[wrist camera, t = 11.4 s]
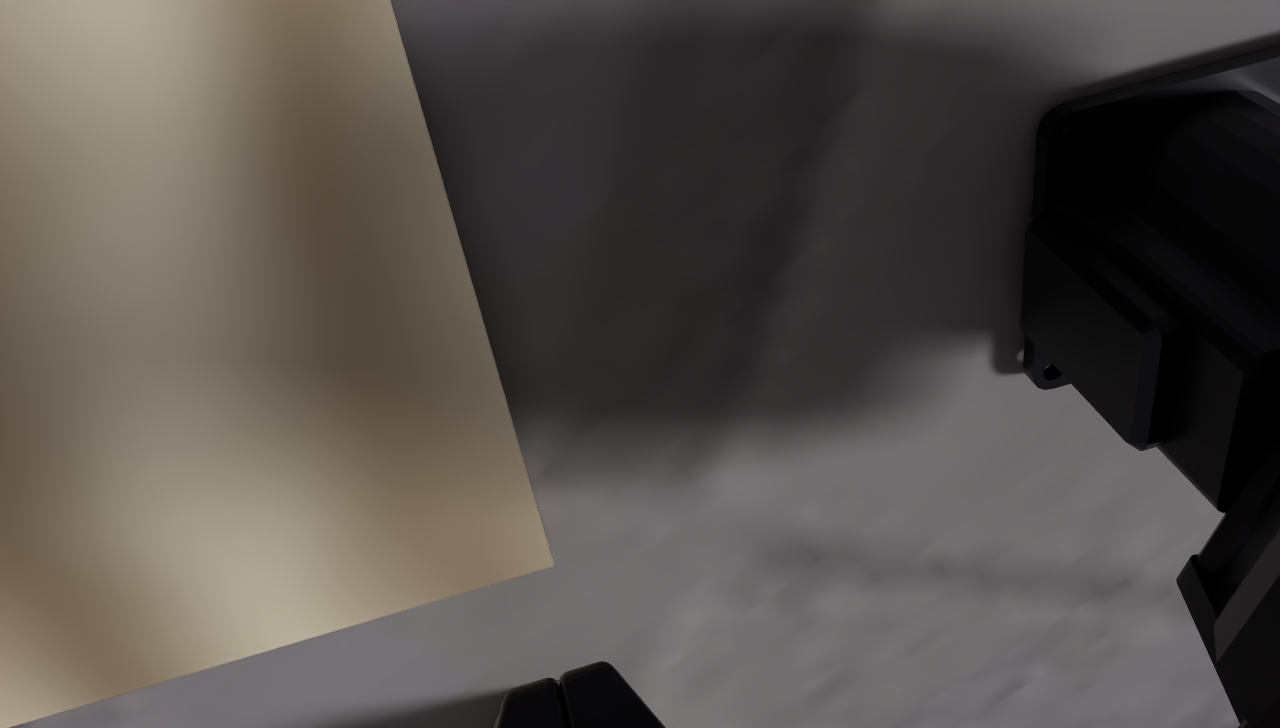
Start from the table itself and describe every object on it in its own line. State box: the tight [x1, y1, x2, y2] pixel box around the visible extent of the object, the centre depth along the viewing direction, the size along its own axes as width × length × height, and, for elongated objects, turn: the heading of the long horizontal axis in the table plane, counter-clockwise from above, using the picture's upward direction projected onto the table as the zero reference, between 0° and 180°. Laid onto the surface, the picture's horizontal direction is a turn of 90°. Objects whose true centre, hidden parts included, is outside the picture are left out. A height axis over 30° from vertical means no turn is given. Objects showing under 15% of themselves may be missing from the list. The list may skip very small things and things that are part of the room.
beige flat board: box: [0, 0, 554, 728], centre depth 19 cm, size 16×13×1 cm
